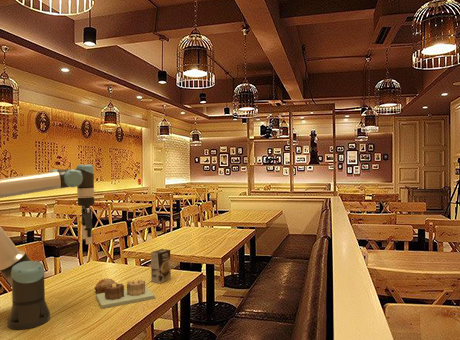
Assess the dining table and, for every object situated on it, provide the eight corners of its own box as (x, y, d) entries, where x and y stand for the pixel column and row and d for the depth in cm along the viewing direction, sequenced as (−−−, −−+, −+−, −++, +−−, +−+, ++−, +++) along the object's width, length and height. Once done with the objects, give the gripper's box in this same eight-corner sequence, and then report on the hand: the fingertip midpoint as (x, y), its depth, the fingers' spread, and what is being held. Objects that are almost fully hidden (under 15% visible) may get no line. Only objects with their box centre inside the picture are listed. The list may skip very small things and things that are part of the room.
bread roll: (106, 302, 183) (112, 287, 182) (89, 292, 185) (95, 278, 184) (116, 295, 192) (122, 281, 192) (100, 285, 194) (105, 272, 193)
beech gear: (134, 297, 174) (134, 286, 174) (123, 293, 180) (123, 283, 179) (148, 292, 181) (148, 281, 181) (138, 288, 186) (137, 278, 186)
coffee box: (160, 283, 198) (159, 253, 198) (151, 281, 201) (150, 251, 201) (171, 279, 206) (170, 249, 205) (162, 277, 209) (161, 248, 209)
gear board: (101, 308, 165) (101, 291, 165) (96, 297, 179) (95, 281, 179) (155, 298, 176) (154, 282, 176) (145, 288, 190) (145, 273, 190)
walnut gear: (106, 301, 170) (106, 290, 170) (103, 295, 177) (103, 285, 177) (125, 297, 174) (125, 287, 174) (121, 292, 181) (121, 282, 181)
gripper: (98, 198, 170) (99, 245, 171) (90, 194, 192) (91, 235, 193) (80, 199, 167) (81, 247, 167) (74, 195, 189) (75, 237, 189)
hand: (87, 241), depth 180 cm, fingers open, 13 cm apart
